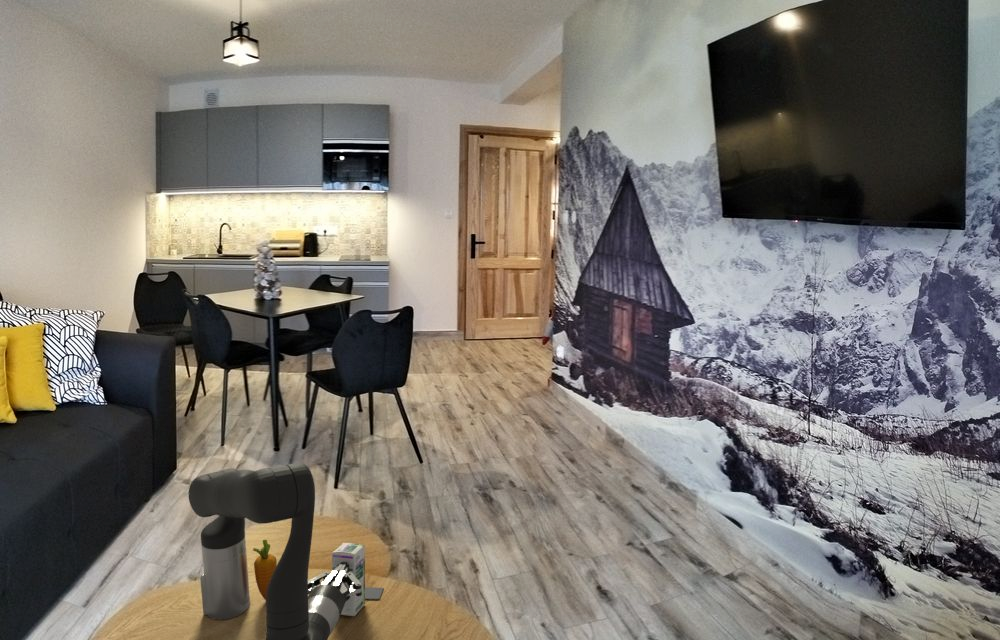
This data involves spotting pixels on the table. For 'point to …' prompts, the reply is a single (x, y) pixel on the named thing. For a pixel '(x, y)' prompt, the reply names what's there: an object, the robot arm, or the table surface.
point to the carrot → (264, 568)
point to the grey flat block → (373, 593)
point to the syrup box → (356, 562)
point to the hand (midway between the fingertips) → (344, 565)
